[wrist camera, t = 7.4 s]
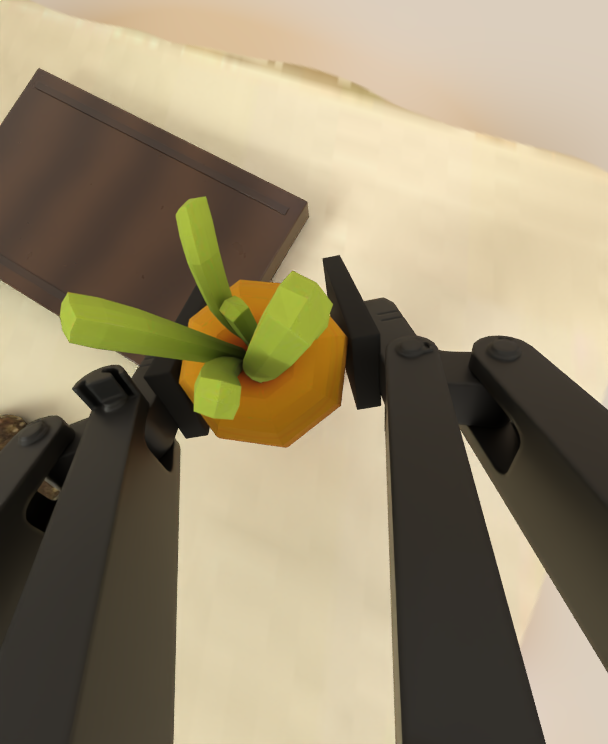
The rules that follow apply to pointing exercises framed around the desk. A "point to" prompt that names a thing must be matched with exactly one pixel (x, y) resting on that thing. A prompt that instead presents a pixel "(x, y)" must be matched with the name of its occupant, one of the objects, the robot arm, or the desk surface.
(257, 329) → the carrot
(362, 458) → the desk surface
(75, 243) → the bread board
